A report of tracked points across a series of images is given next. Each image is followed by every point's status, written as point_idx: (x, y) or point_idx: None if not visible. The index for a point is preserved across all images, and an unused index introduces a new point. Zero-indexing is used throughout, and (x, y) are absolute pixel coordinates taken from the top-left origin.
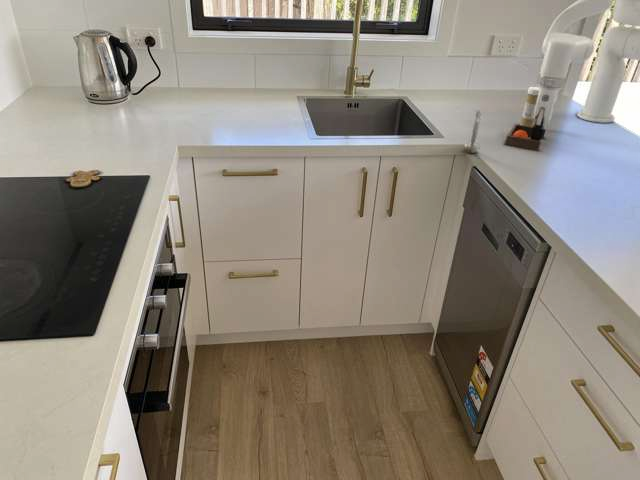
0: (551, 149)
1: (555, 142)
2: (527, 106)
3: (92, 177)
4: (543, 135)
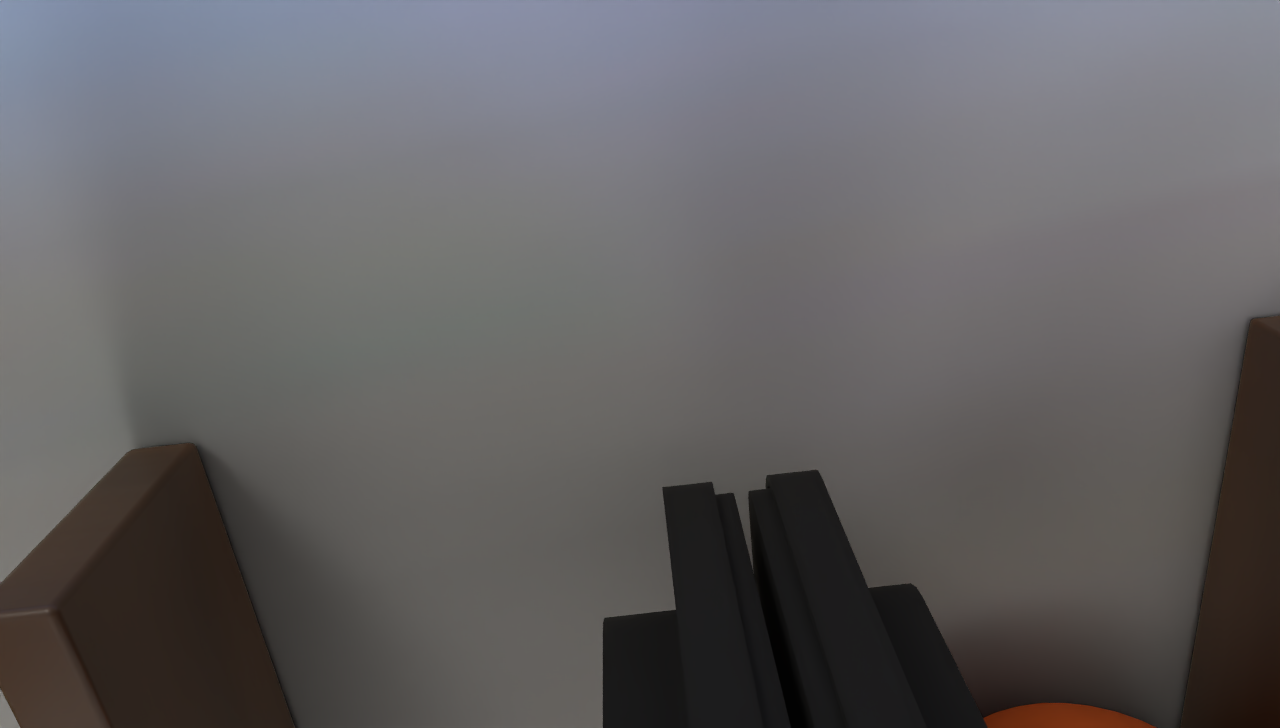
0: (1004, 5)
1: (233, 56)
2: None
3: None
4: (164, 502)
